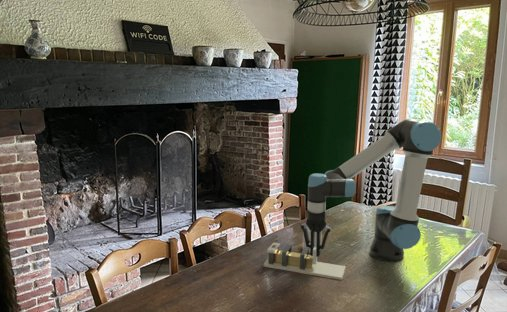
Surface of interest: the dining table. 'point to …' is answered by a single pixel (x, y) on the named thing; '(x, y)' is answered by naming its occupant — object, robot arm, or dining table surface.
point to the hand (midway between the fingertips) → (314, 262)
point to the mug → (310, 239)
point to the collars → (288, 248)
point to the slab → (313, 269)
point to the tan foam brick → (293, 258)
